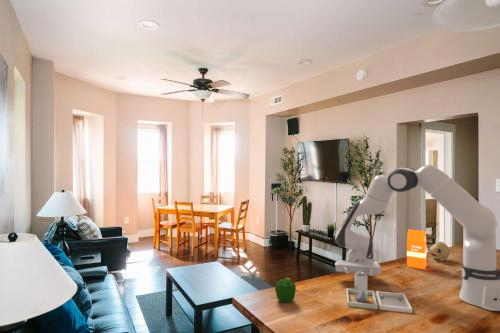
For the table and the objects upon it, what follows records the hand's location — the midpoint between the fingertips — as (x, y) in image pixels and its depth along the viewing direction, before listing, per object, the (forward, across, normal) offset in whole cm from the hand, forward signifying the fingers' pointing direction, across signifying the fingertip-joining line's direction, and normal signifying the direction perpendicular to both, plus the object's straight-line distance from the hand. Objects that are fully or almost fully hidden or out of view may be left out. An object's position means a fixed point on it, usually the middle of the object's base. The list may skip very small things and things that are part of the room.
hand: (358, 273), depth 139 cm
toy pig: (-59, +48, +8) cm, 77 cm away
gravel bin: (+13, +12, +8) cm, 20 cm away
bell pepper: (+18, -30, +8) cm, 36 cm away
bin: (+13, 0, +8) cm, 15 cm away
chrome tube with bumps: (+13, 0, +7) cm, 15 cm away
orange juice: (-44, +34, +8) cm, 56 cm away
